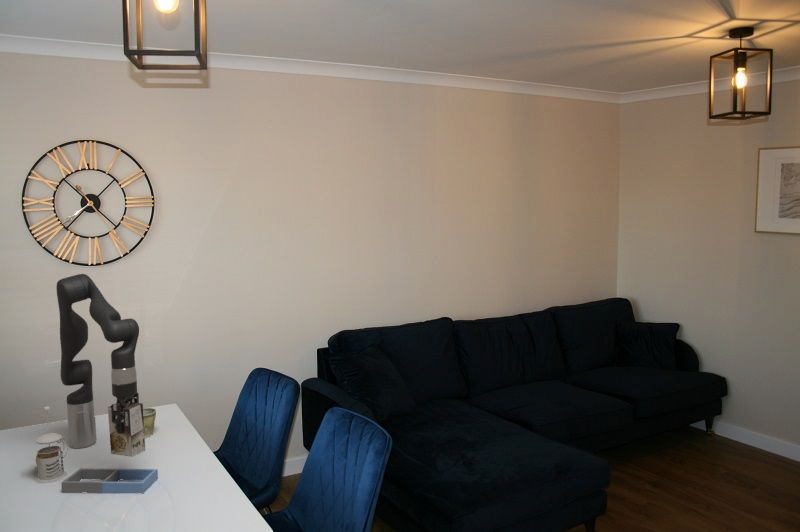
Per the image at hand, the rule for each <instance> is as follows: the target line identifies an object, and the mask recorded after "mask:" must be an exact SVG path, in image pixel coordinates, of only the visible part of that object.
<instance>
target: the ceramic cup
mask: <svg viewBox="0 0 800 532" xmlns="http://www.w3.org/2000/svg"><path fill="white" fill-rule="evenodd" d="M156 413H157V410H156V408H153V407H143V418H144V436H145V439H148V438H150V436H151V435H152V436H153V435H154V429H155V422H156V421H155V420H156V418H157V417H156V416H157V415H156ZM152 436H151V437H152ZM147 437H148V438H147Z"/></svg>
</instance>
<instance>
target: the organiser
mask: <svg viewBox="0 0 800 532" xmlns="http://www.w3.org/2000/svg"><path fill="white" fill-rule="evenodd" d="M81 479H104V480H101V481H96V480H94V481H93V480H90V481H89V480H86V481H85V480H81ZM120 479H123V480H122V481H121V480H120ZM157 479H158V480H159V472H158V468H89V467H87V468H86V467H85V468H84V467H83V468H82V467H81V468H79V469H77V470H76V471H75V472H73V473H72V474H70V476H68V477H67V478H64V479H63V481H61V482H60V483H61V493H62V494H83V493H82V492H87V493H86V494H117V493H142V494H141V495H143V493H144V492H145V491H146V490H147V489H148V488H149V487H150V486H151V485H152V484H153V483H154V482H155V481H156V482H157V481H158V480H157ZM80 480H81V481H80ZM118 480H119V481H118ZM156 482H155V483H156ZM155 483H154V484H155ZM152 486H153V485H152ZM152 486H151V487H152ZM151 487H150V488H151ZM150 488H149V489H150ZM149 489H148V490H149ZM148 490H147V491H148ZM147 491H146V492H147ZM146 492H145V493H146ZM145 493H144V494H145Z"/></svg>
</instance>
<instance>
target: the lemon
mask: <svg viewBox="0 0 800 532" xmlns="http://www.w3.org/2000/svg"><path fill="white" fill-rule="evenodd" d="M37 455H38V452H37V453H36V456H35V464H36V465H37V464H38V463H37ZM45 456H51V455H43V456H41V457H40V459H41V458H43V457H45ZM45 459H47V458H45ZM46 466H48V467H50V466H52V465H46Z"/></svg>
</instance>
